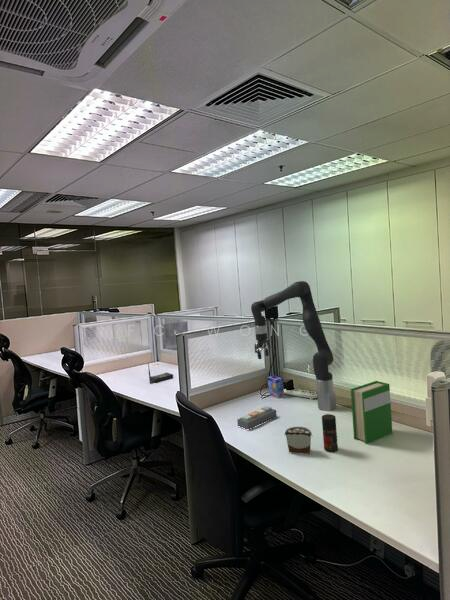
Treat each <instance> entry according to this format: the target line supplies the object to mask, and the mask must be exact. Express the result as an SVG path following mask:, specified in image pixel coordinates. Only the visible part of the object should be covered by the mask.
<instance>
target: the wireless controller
mask: <svg viewBox="0 0 450 600" xmlns="http://www.w3.org/2000/svg"><path fill="white" fill-rule="evenodd" d="M147 365H148V367H147V368H148V377H149V385H152V384H154V383H155V384H159V383H162V382H165V381H169V380H172V379H174V374H173V373H171V372H170V373H169V372H164V373H160V374H157V375H153V376H151V370H150V364H149V363H147Z"/></svg>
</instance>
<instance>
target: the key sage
mask: <svg viewBox="0 0 450 600" xmlns="http://www.w3.org/2000/svg"><path fill="white" fill-rule="evenodd" d="M240 418H242V420H243V421H246V422H249V421H251V420H252V416H249V415H248V414H245V415H243V416H241V417H240Z"/></svg>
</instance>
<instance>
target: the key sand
mask: <svg viewBox="0 0 450 600" xmlns="http://www.w3.org/2000/svg"><path fill="white" fill-rule="evenodd" d="M254 412H256V413H259V415H261V416H262V415H264V414H265V410H262V409H261V408H258V409H256V410H255V411H254Z"/></svg>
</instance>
